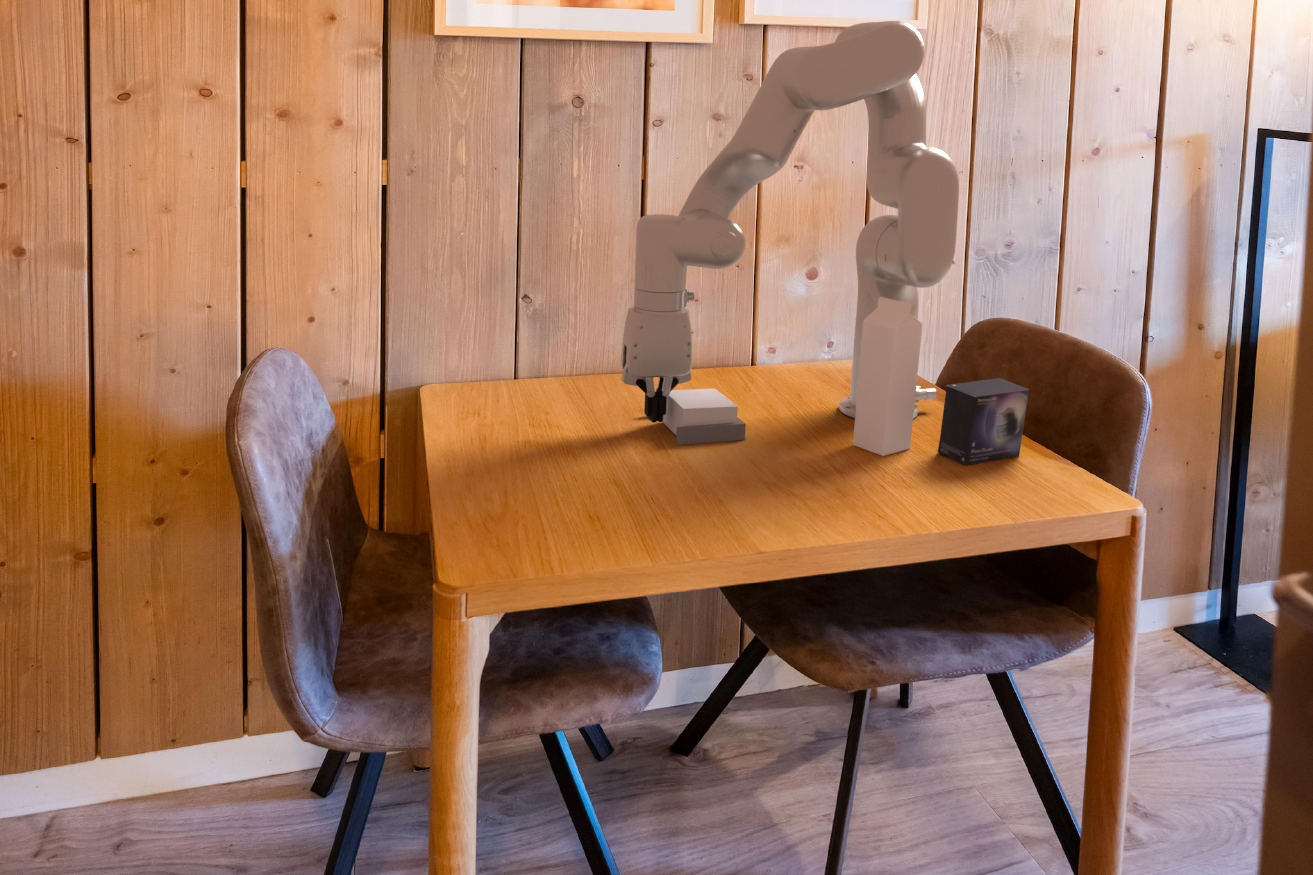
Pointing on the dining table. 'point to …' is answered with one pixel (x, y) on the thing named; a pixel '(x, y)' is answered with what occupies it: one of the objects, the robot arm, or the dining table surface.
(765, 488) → the dining table surface
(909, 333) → the milk
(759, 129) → the robot arm
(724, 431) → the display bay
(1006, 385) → the small box
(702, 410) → the carton
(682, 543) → the dining table surface
